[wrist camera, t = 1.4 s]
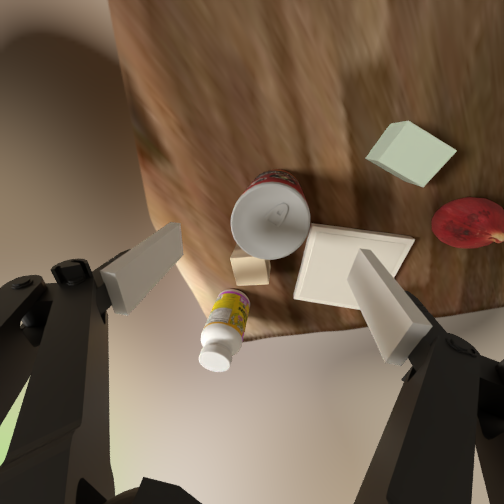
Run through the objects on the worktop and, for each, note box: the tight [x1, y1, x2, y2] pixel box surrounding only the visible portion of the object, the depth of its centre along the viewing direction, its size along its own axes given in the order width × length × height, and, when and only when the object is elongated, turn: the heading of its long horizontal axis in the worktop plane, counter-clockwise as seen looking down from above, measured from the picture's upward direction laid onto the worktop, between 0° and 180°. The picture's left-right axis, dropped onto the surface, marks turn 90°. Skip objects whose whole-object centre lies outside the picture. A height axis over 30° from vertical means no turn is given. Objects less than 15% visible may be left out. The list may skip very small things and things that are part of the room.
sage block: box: [365, 121, 457, 187], centre depth 22 cm, size 4×6×4 cm, turn 64°
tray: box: [294, 223, 415, 310], centre depth 32 cm, size 14×14×1 cm
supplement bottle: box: [199, 289, 250, 372], centre depth 34 cm, size 7×7×13 cm
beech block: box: [230, 244, 271, 286], centre depth 32 cm, size 5×5×5 cm
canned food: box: [231, 169, 310, 260], centre depth 24 cm, size 8×8×11 cm
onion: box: [431, 197, 504, 248], centre depth 23 cm, size 6×6×8 cm
